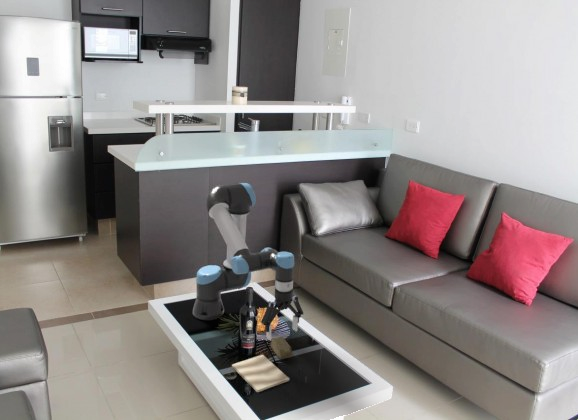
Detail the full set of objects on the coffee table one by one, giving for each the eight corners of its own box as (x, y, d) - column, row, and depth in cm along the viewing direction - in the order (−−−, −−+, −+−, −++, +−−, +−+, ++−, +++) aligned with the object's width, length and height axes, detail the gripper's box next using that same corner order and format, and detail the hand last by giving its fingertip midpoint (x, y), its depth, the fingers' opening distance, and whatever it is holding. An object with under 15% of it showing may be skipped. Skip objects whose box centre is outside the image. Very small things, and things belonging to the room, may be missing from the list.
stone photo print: (231, 366, 226) (231, 364, 226) (262, 356, 234) (262, 354, 234) (257, 392, 210) (257, 390, 210) (289, 380, 219) (289, 378, 218)
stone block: (280, 360, 232) (280, 350, 231) (269, 347, 242) (269, 337, 241) (292, 358, 235) (293, 347, 233) (281, 345, 244) (281, 335, 243)
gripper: (263, 298, 219) (261, 345, 225) (313, 285, 233) (310, 330, 239) (253, 291, 225) (252, 337, 231) (302, 279, 239) (300, 323, 245)
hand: (281, 334), depth 235 cm, fingers open, 13 cm apart
